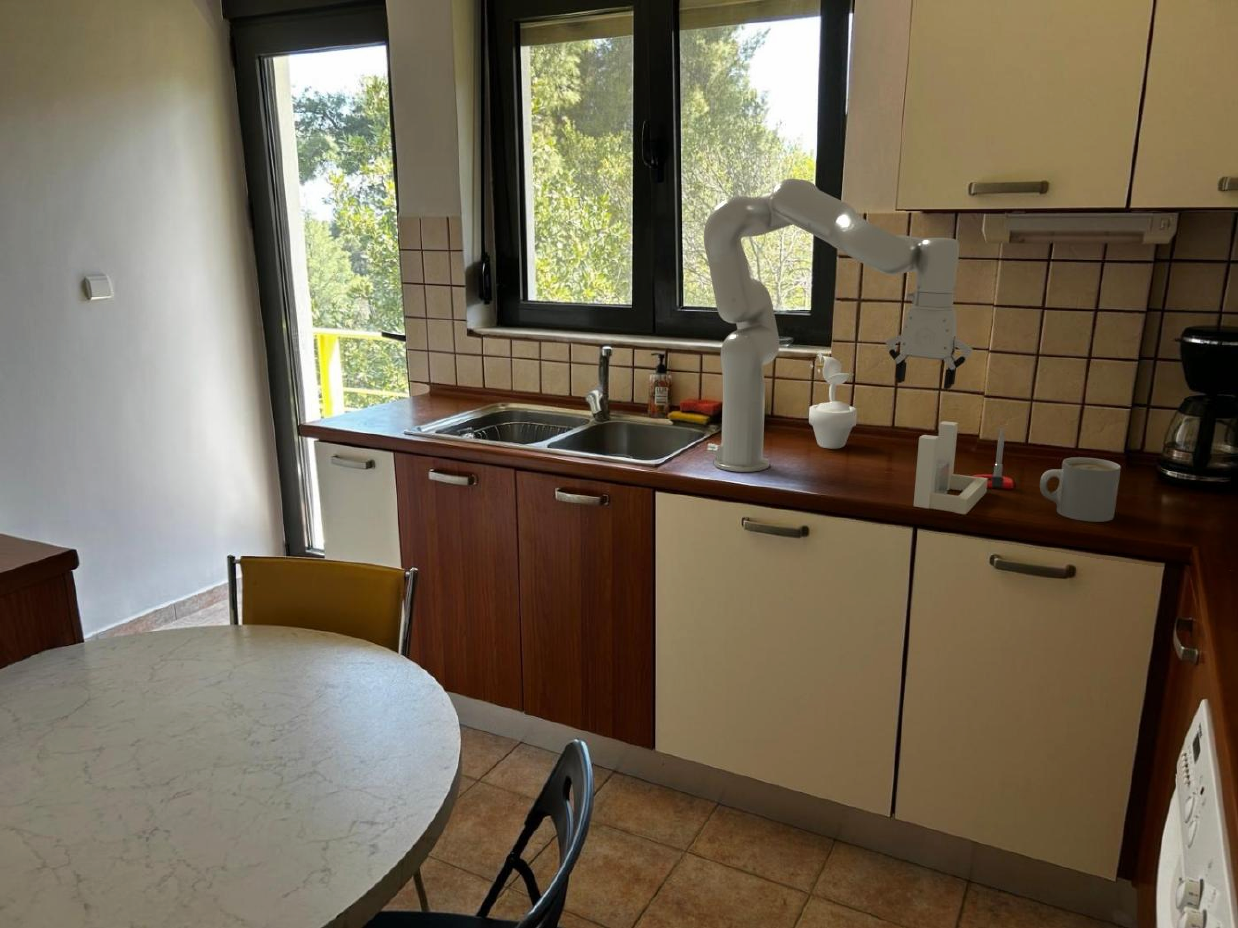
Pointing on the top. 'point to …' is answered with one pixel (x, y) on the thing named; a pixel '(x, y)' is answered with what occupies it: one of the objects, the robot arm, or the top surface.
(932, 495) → the white open frame stand
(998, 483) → the grey red t-shaped piece
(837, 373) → the potted plant
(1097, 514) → the coffee mug
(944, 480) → the grey upright block
